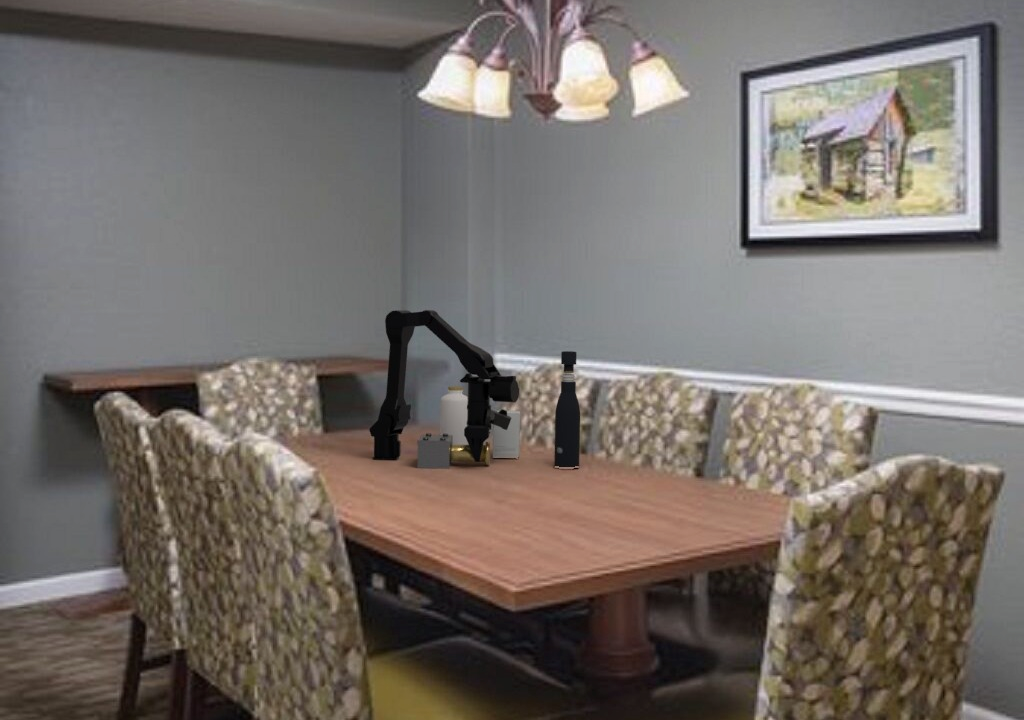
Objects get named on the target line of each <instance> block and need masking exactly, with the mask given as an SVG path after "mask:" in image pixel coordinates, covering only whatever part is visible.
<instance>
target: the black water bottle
mask: <svg viewBox="0 0 1024 720" xmlns="http://www.w3.org/2000/svg"><path fill="white" fill-rule="evenodd" d="M560 358H561V359H560V365H563V374H562V376H561V377H562V378H561V381H560V394H559V396H558V399H557V402H556V407H555V410H554V411H555V412H554V414H555V416H554V417H555V418H554V420H555V421H554V457H553V458H554V461H553V463H554V465H555V466H559V467H575V466H579V467H580V446H581V445H580V443H581V440H580V439H581V438H580V437H581V409H580V408H581V407H580V402H579V399H578V396H577V391H576V387H577V386H576V385H577V384H576V382H577V381H575V380H576V379H575V378H576V376H575V374H573V373H574V372H575V370H574V365H577V351H573V350H572V351H570V350H569V351H568V350H565V351H561V356H560ZM554 465H553V466H554Z"/></svg>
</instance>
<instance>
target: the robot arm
mask: <svg viewBox="0 0 1024 720" xmlns="http://www.w3.org/2000/svg"><path fill="white" fill-rule="evenodd" d="M384 324H385V326H384V327H385V334H386V337H387V339H388V342H389V351H388V352H389V353H388V363H387V365H388V367H387V376H386V377H387V379H386V391H385V392H386V393H385V398H384V400H383V401H382V404H381V406H380V409H379V413H378V417H377V420H376V421H375V422H374V423H373V424H372V425H371V426H370V428H369V429H368V430H369V433H370V436H371V438H372V437H373V457H372V460H394V461H395V460H398V459H399V458H400V457H401V456H402V454H401V452H402V448H401V447H402V445H401V444H402V441H401V439H399V438H400V437H399V436H400V435H402V433H403V430H404V428H405V427H406V426H407V425H408V423H409V420H411V409H412V405H411V403H410V404H407V402H406V400H405V387H406V386H405V385H406V374H407V359H408V350H409V349H408V347H409V343H410V341H411V339H412V337H413V335H414V332H415V328H416V327H423V326H425V327H426V328H427V329H428V330H429V331H430V332H431V333H433V334H434V335H435V336H436V337H437V338H438V339H439V340H441V342H442V343H444V345H446V347H448V348H449V349H450V350H451V351H452V352H454V354H455V355H456V357H457V358H458V360H459V363H460V364H461V365H462V366H463V368H464V369H465V371H467V373H466V374H465V375H464V376H463V377H462V378H461V379H459V382H460V383H461V384H462V383H464V384H465V383H466V384H467V397H468V404H467V426H466V427H465V429H464V436H465V437H466V439H467V442H468V444H469V447H470V450H471V452H472V455H473V457H474V460H475V462H474V463H480V462H479V461H480V456H481V451H482V446H483V445H485V444H484V442H486V440H488V439H489V438H490V434H491V431H490V430H492V426H493V425H496V426H499V427H501V428H502V429H504V430H507V429H508V426H509V424H510V421H511V417H510V416H507V411H508V410H505V409H503V408H501V409H500V410H494V409H492V405H491V403H490V401H491V400H490V399H492V401H493V402H501V403H517V401H518V400H519V396H520V387H519V383H518V381H517V375H502V374H501V373H500V371H499V370H498V369H497V367H496V365H495V364H494V358H493V356H492V354H490V353H489V352H488V351H486V350H484V349H483V348H481V347H479V346H477V345H475V344H473V343H471V342H469V341H468V340H466V338H464V336H462V335H461V334H460V333H459V332H458V331H457V330H456V329H455V328H454V327H452V325H450V324H449V323H448V321H446V320H445V319H444V318H442V317H441V316H440V315H439V313H438V312H437V311H435V310H432V309H425V310H422V311H416V312H415V311H414V312H411V311H410V310H407V309H406V310H403V309H402V310H392V311H389V312H388V313H387V314H386V316H385V320H384ZM497 411H499V412H497Z"/></svg>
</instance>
